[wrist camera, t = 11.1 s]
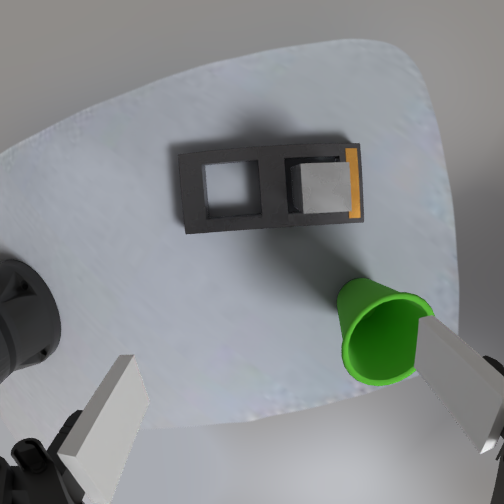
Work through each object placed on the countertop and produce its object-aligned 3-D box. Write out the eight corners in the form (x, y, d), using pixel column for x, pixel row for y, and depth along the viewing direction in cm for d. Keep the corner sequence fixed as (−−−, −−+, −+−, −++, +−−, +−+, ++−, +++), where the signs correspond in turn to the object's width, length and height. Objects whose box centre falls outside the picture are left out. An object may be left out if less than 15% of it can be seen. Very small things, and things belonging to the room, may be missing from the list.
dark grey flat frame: (189, 231, 34) (185, 234, 32) (182, 156, 33) (178, 154, 31) (358, 219, 34) (364, 222, 32) (354, 145, 32) (360, 143, 30)
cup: (303, 296, 36) (320, 343, 25) (366, 243, 34) (408, 270, 23) (348, 348, 37) (375, 402, 26) (406, 300, 36) (451, 340, 25)
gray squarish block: (293, 205, 34) (303, 213, 26) (290, 167, 33) (300, 163, 25) (330, 203, 33) (351, 211, 26) (328, 165, 33) (349, 162, 25)
